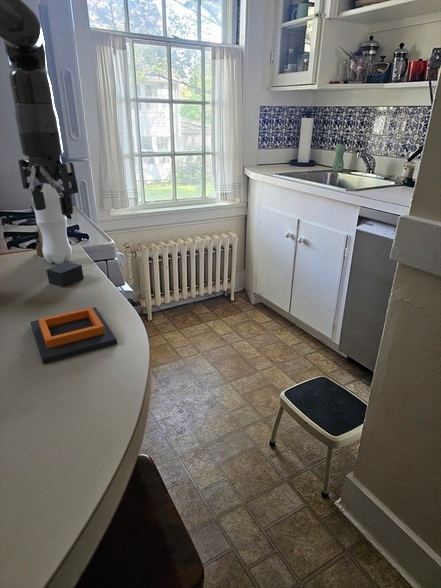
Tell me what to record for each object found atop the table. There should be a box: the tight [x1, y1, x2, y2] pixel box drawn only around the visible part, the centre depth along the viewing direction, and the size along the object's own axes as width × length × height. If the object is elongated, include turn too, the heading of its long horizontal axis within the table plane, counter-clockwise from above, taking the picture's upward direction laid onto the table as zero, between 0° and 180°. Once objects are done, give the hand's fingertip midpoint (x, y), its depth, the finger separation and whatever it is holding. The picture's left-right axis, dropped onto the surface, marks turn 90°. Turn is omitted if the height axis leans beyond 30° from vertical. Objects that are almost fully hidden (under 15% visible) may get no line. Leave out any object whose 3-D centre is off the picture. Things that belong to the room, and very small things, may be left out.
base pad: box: [30, 306, 118, 365], centre depth 70 cm, size 12×14×2 cm
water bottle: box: [31, 183, 73, 265], centre depth 99 cm, size 7×7×25 cm
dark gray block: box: [45, 261, 85, 288], centre depth 92 cm, size 6×5×4 cm
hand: (54, 212), depth 83 cm, fingers open, 8 cm apart
